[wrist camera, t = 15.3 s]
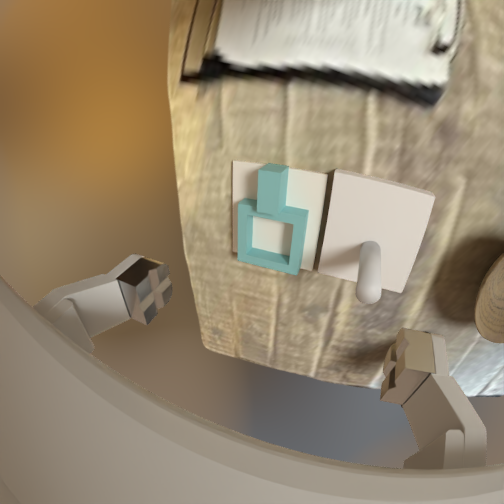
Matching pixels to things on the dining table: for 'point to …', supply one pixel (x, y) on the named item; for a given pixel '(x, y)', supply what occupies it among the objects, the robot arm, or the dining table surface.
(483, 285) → the bowl
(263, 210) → the teal square ring handle
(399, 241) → the post stand
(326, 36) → the dining table surface
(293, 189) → the mat
